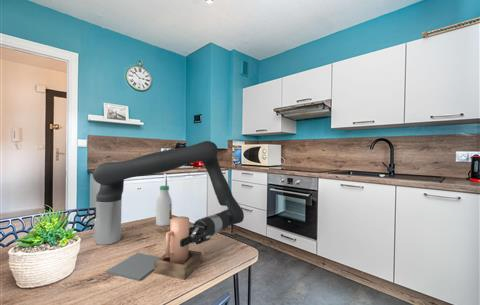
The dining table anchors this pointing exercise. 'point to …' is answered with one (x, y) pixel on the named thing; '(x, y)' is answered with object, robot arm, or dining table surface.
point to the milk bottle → (163, 207)
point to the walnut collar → (178, 266)
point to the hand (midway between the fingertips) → (174, 241)
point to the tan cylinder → (177, 240)
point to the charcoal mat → (134, 267)
